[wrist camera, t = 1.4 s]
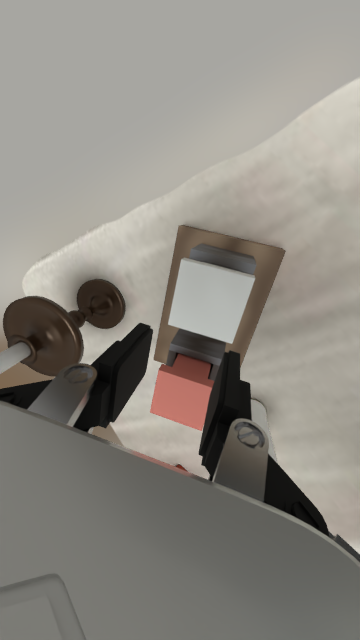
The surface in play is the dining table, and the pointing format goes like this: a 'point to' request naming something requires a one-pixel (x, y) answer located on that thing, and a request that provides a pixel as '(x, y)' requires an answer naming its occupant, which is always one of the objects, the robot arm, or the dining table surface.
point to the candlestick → (57, 327)
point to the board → (226, 254)
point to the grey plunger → (210, 299)
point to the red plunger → (183, 391)
